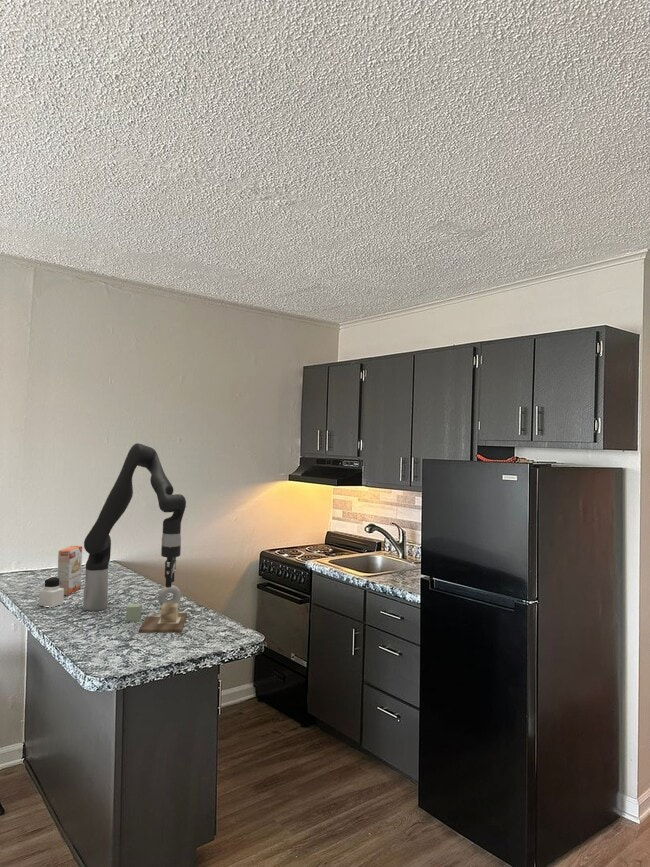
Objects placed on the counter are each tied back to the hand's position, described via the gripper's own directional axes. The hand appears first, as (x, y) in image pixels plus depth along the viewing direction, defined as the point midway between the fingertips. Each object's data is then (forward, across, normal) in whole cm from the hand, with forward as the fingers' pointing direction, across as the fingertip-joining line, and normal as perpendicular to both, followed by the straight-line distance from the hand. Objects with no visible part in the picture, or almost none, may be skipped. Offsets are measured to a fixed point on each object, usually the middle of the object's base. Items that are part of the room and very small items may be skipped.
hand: (169, 584), depth 247 cm
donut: (+16, -23, -3) cm, 28 cm away
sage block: (+16, -6, -15) cm, 23 cm away
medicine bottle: (+16, -28, -54) cm, 63 cm away
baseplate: (+16, 0, -2) cm, 16 cm away
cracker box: (+16, -51, -53) cm, 75 cm away
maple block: (+14, 0, 0) cm, 14 cm away
